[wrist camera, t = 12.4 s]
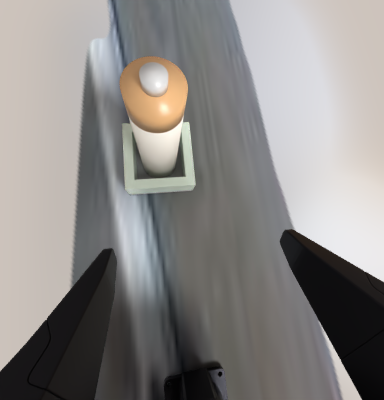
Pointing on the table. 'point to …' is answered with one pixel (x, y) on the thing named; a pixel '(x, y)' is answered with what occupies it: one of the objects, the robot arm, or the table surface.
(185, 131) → the frame
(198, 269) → the table surface
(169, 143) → the cell
